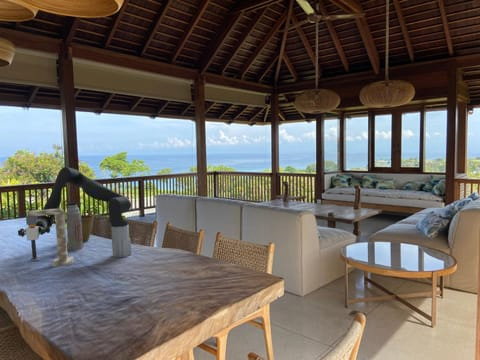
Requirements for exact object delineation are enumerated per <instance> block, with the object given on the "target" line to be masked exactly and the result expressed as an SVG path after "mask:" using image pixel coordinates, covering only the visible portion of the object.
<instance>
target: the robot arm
mask: <svg viewBox="0 0 480 360" xmlns="http://www.w3.org/2000/svg"><path fill="white" fill-rule="evenodd" d="M67 183H68V184H71V185H74V186H77V187H79V188H81V189H82V192H83V193H84V194H86V195H87V196H89V197H90V198H92V199H94V200H96V201H102V202H105V203H107V211H108V220H109V222H110V227H111V228H110V229H111V230H110V231H111V244H112V245H111V247H112V248H111V249H112V257H113V258H126V257H129V256H130V255H132V242H131V241H132V240H131V238H130V231H129V230H130V227H129V220H128V219H127V218H124V217H123V214H122V213H127V212H128V211H130V210H131V207H132V203H131V201H130V199H129V198H128V197H127V196H125V195H122V194H120V193H118V192H116V191H114V190H111V189H110V188H108V187H106V186H104V185H103V184H102V183H100V182H98V181H96V180H94V179H92V178H89V177H87V176H86V175H85V174H83V173H82V172H81V171H79V170H78V169H75V168H71V167H69V166H64V167H61V169H60V170H59V172H58V174H57V176H56V179H55V182H54V185H53V187H52V191H51V193H50V196H49V197H48V199H47V201H46V202H45V205H44V206H43V208H42V210H47V209H59V207H60V205H61V203H62V193H63V191H62V190H63V188H64V186H65V184H67ZM54 220H55V215H42V216H37V223H36V226H38V230H39V236H40V235H41V236H43V235H44V234H46V233H47V234H49V233H51V227H52V226H53V224H54ZM27 228H28V227H26V228H25V229H24V228H20V229H19V230H18V231H17V236H18V237H22V238H24V237H25V236H27V235H26V229H27Z"/></svg>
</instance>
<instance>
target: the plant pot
mask: <svg viewBox="0 0 480 360" xmlns="http://www.w3.org/2000/svg"><path fill="white" fill-rule="evenodd" d="M93 224H94V215H91V214H84V215H83V214H81V226H82V242H83V243H85V242H88V241H89V239H90V236H91V233H92V230H93Z"/></svg>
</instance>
